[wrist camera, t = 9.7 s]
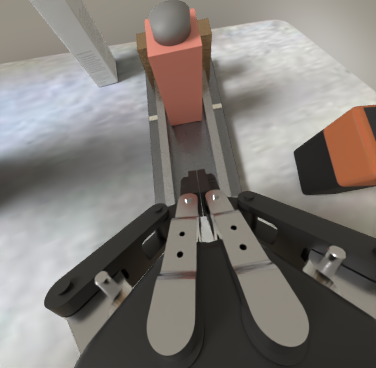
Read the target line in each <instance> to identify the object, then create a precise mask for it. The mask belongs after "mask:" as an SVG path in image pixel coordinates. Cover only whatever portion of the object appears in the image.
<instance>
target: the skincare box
mask: <svg viewBox="0 0 376 368" xmlns="http://www.w3.org/2000/svg"><path fill="white" fill-rule="evenodd" d="M29 1H30V2H31V3H32V5H33V6H34V7H35V8H36V10H37V11H38V12H39V13H40V15H41V16H42V17H43V18H44V20H45V21H46V22H47V23H48V25H49V26H50V27H51V28H52V29H53V31H54V32H55V33H56V34H57V36H58V37H59V38H60V39H61V41H62V42H63V43H64V45H65V46H66V47H67V48H68V50H69V51H70V52H71V53H72V55H73V56H74V57H75V58H76V60H77V61H78V62H79V63H80V64H81V66H82V67H83V68H84V69H85V71H86V72H87V73H88V74H89V76H90V77H91V78H92V79H93V81H94V82H95V83H96V84H97V86H98V87H102V86H106V85H109V84H113V83H117V82H118V77H117V69H116V61H115V58H114V56H113V55H112V53H111V51H110V49H109V47H108V46H107V44H106V42H105V40H104V39H103V37H102V35H101V33H100V31H99V30H98V28H97V26H96V25H95V23H94V21H93V19H92V17H91V15H90V14H89V12H88V10H87V8H86V7H85V5H84V3H83V1H82V0H29Z"/></svg>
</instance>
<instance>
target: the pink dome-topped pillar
mask: <svg viewBox="0 0 376 368" xmlns="http://www.w3.org/2000/svg"><path fill="white" fill-rule="evenodd" d="M145 30H146V42H147V54H148V59H149V62H150V65H151V68H152V71H153V74H154V77H155V80H156V83H157V86H158V89H159V92H160V95H161V98H162V101H163V104H164V107H165V110H166V113H167V116H168V118H169V121H170V124H171V126H173V125H179V124H184V123H190V122H196V121H201V120H202V42H201V37H200V33H199V28H198V23H197V19H196V14H195V10H194V9H189V7H188V5H186V3H184V2H182V1H178V0H169V1H165V2H162V3H160V4H158V5H157V6H155V7H154V8H153V9H152V11H151V12H150V14H149V19H146V20H145Z"/></svg>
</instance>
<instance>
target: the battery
mask: <svg viewBox="0 0 376 368" xmlns="http://www.w3.org/2000/svg"><path fill="white" fill-rule="evenodd" d="M294 156H295V161H296V165H297V170H298V175H299V179H300V184H301V188H302V192H303V194H305V195H314V194H336V193H341V192H347V191H352V190H358V189H363V188H368V187H374V186H376V105H368V106H357V107H354V108H352V109H350V110H349V111H348V112H346V113H345V114H344V115H342V116H341V117H340V118H338V119H337V120H335V121H334V122H333V123H331V124H330V125H329V126H327V127H326V128H325V129H323V130H322V131H320V132H319V133H318V134H316V135H315V136H314V137H312V138H311V139H310V140H308V141H307V142H305V143H304V144H303V145H301V146H300V147H299V148H297V149H296V150H295V151H294Z"/></svg>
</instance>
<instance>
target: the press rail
mask: <svg viewBox="0 0 376 368" xmlns="http://www.w3.org/2000/svg"><path fill="white" fill-rule="evenodd" d="M197 23H198V28H199V33H200V37H201V42H202V120H201V121H196V122H190V123H184V124H179V125H173V126H171V124H170V121H169V118H168V116H167V113H166V110H165V107H164V104H163V101H162V98H161V95H160V92H159V89H158V86H157V83H156V80H155V77H154V74H153V71H152V68H151V65H150V62H149V59H148V54H147V42H146V32H144V33H139V34H136V36H137V37H136V38H137V51H138V53H139V56H140V58H141V61H142V64H143V66H144V69H145V73H146V86H147V99H148V112H149V125H150V138H151V152H152V165H153V178H154V191H155V204H159V203H163V204H166V205H167V206H171V205H174V204H175V203H177V202H178V199H179V197H180V187H181V180H182V178H183V177H188V171H193V170H196V173H197V170H200V169H205V172H206V174H209V173H212V174H213V175H215V178H216V180H217V183H218V185H219V188H220V190H221V191H223V192H224V193H225V194H226V196H228V197H238V194H239V193H241V192H242V191H241V187H240V182H239V178H238V173H237V169H236V165H235V160H234V156H233V152H232V147H231V143H230V138H229V134H228V130H227V125H226V121H225V117H224V112H223V108H222V103H221V99H220V95H219V90H218V86H217V82H216V77H215V73H214V69H213V64H212V60H211V40H212V32H211V28H210V25H209V20H208V18H206V19H202V20H197ZM197 179H198V176H197ZM198 185H199V183H198ZM199 192H200V190H199ZM200 199H201V196H200Z"/></svg>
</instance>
